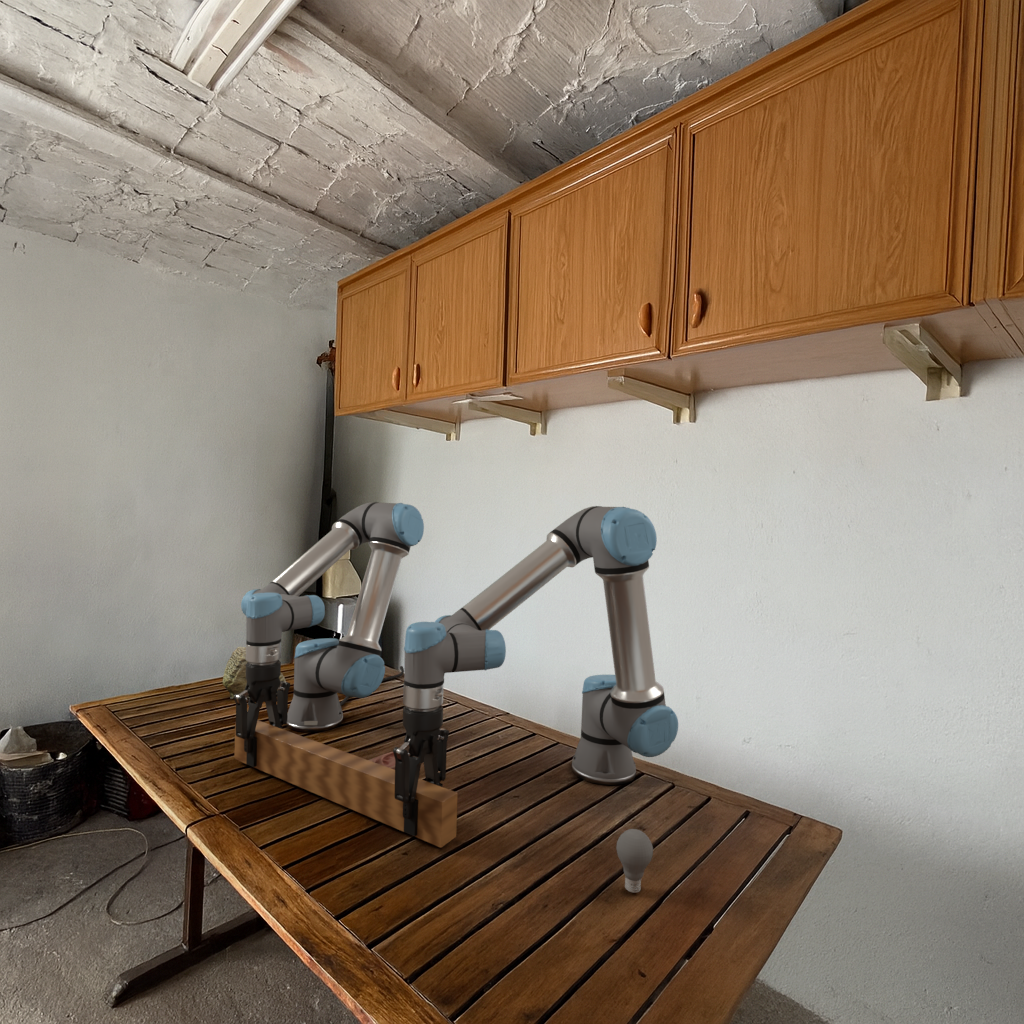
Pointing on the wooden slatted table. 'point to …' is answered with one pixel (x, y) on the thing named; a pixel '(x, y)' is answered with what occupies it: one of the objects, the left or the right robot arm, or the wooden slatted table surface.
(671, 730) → the right robot arm
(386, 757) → the anatomical model
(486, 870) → the wooden slatted table surface
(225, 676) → the fossil
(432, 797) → the beam
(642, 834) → the light bulb
